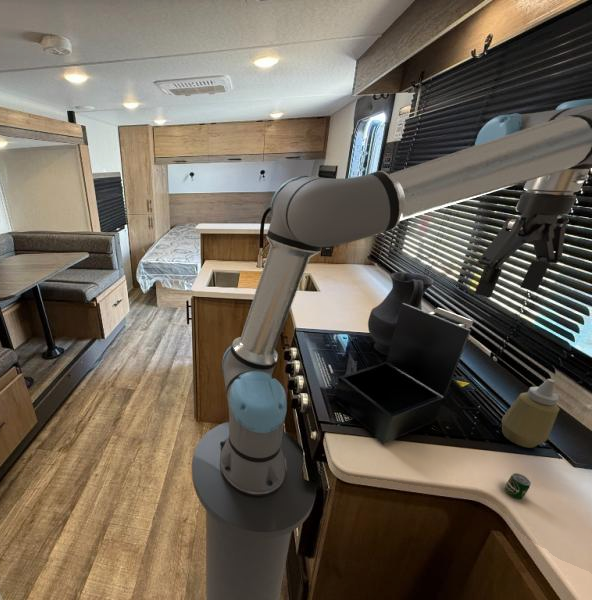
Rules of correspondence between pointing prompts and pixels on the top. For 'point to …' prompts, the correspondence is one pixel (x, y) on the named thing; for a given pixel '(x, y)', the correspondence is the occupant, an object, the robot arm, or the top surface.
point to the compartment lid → (429, 345)
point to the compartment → (387, 401)
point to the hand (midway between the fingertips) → (505, 292)
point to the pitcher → (396, 307)
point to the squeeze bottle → (531, 416)
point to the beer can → (517, 486)
